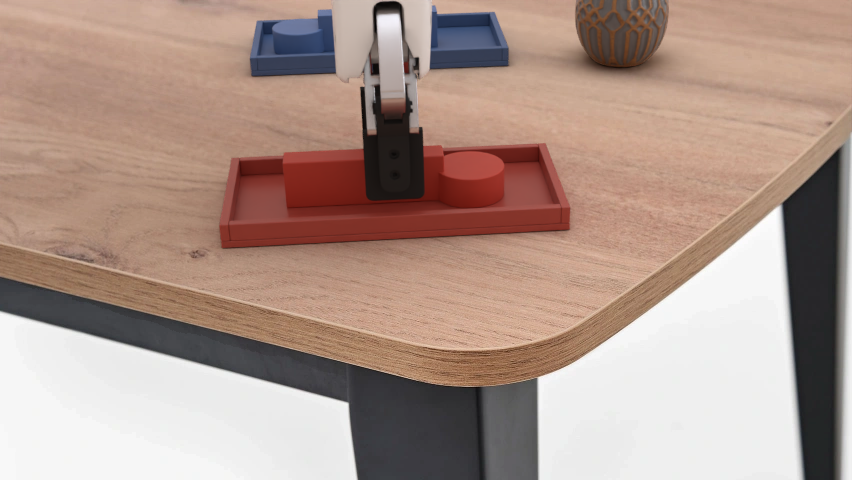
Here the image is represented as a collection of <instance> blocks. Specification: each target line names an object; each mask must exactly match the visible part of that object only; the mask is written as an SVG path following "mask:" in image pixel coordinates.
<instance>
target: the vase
mask: <svg viewBox="0 0 852 480" xmlns="http://www.w3.org/2000/svg"><path fill="white" fill-rule="evenodd" d="M669 3H670V2H669V0H575V8H574V22H575V29H576V34H577V38H578V40H579V43H580V45H581V47H582V48H583V50H584V52H585V53H587V55H588V57H590V58H591V59H592V60H593V61H594V62H595V63H597V64H600V65H602V66H607V67H612V68H613V67H614V68H629V67H636V66H639V65H642V64H644V63H645V62H647V60H649V59H650V58H651V57H652V56H653V55H654V54H655V53H656V52H657V50H658V49H659V48H660V46H661V44H662V42H663V40H664V37H665V35H666V32H667V28H668V23H669V16H670V15H669V14H670V5H669Z"/></svg>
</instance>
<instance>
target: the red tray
mask: <svg viewBox="0 0 852 480" xmlns="http://www.w3.org/2000/svg"><path fill="white" fill-rule="evenodd" d="M442 149H443V154H444V156H445V155H448V154H452V153H456V152H465V151H476V152H484V153H489V154H492V155H495V156H497V157H498V158H500V159H501V160H502V161H503V163H504V195H503V197H502V199H501V200H499V201H498V202H496V203H494V204H492V205H489V206H485V207H479V208H459V207H454V206H450V205H447V204H444V203H443V202H441V201H439V200H435V201H415V202H396V203H376V204H356V205H336V206H316V207H297V208H287V205H286V195H285V184H284V173H283V155H284V154H282V155H281V154H280V155H261V156H240V157H231V159H230V164H229V169H228V175H227V181H226V186H225V191H224V198H223V201H222V208H221V213H220V218H219V223H218V228H219V229H218V230H219V235H220V236H219V237H220V245H221V248H222V249H224V248H225V249H227V248H228V249H229V248H247V247H248V248H249V247H266V246H283V245H284V246H285V245H305V244H321V243H342V242H359V241H360V242H361V241H362V242H363V241H377V240H379V241H380V240H395V239H397V240H398V239H415V238H416V239H417V238H434V237H452V236H453V237H454V236H470V235H489V234H491V235H492V234H507V233H508V234H509V233H528V232H546V231H547V232H548V231H566V230H570V227H571V206H570V203H569V200H568V198H567V196H566V193H565V189H564V187H563V185H562V182H561V180H560V178H559V175H558V172H557V170H556V166H555V164H554V161H553V159H552V156H551V154H550V151H549V149H548V146H547V143H546V142H540V143H539V142H538V143H519V144H516V143H515V144H496V145H495V144H494V145H476V146H453V147H442Z"/></svg>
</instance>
